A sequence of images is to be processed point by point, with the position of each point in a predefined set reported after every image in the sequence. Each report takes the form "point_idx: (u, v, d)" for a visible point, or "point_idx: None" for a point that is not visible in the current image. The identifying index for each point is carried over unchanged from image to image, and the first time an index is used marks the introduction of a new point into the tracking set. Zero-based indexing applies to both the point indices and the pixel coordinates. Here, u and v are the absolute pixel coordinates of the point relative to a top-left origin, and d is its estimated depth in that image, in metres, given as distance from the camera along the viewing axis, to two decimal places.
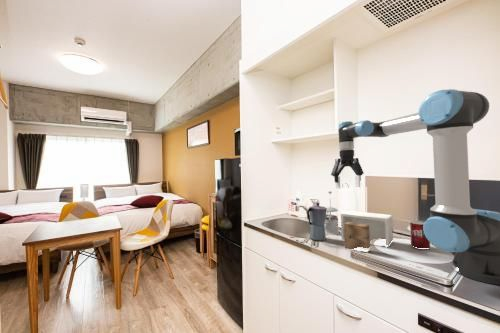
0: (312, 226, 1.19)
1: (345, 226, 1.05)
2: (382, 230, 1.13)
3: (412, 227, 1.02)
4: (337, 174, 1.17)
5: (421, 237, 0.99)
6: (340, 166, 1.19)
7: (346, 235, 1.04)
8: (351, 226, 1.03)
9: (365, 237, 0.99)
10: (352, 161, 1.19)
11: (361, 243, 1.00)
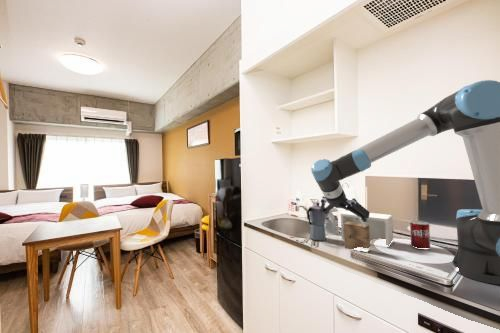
0: (312, 226, 1.19)
1: (345, 226, 1.05)
2: (382, 230, 1.13)
3: (412, 227, 1.02)
4: None
5: (421, 237, 0.99)
6: (351, 207, 0.87)
7: (346, 235, 1.04)
8: (351, 226, 1.03)
9: (365, 237, 0.99)
10: None
11: (361, 243, 1.00)
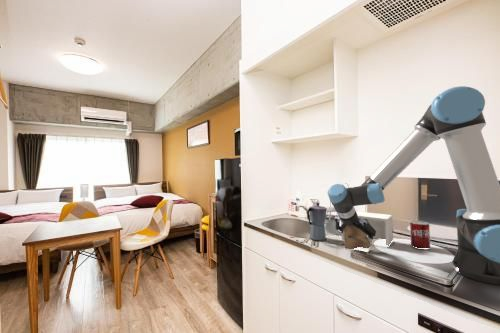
0: (312, 226, 1.19)
1: None
2: (382, 230, 1.13)
3: (412, 227, 1.02)
4: None
5: (421, 237, 0.99)
6: (361, 226, 0.96)
7: (346, 235, 1.04)
8: (351, 226, 1.03)
9: (365, 237, 0.99)
10: None
11: (361, 243, 1.00)
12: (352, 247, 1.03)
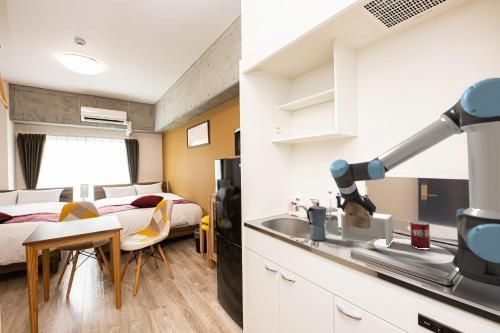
0: (312, 226, 1.19)
1: (346, 204, 1.08)
2: (382, 230, 1.13)
3: (412, 227, 1.02)
4: None
5: (421, 237, 0.99)
6: (361, 202, 0.99)
7: (347, 212, 1.08)
8: (352, 204, 1.06)
9: (365, 213, 1.02)
10: None
11: (362, 220, 1.03)
12: (353, 224, 1.06)
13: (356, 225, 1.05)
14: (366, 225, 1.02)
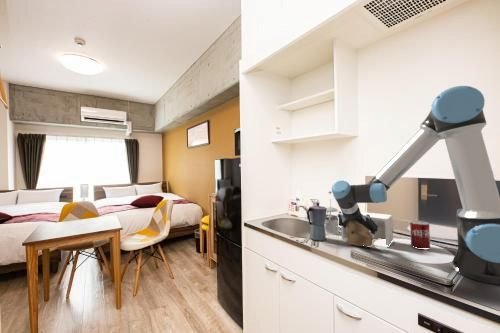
0: (312, 226, 1.19)
1: (348, 222, 1.08)
2: (382, 230, 1.13)
3: (412, 227, 1.02)
4: None
5: (421, 237, 0.99)
6: (363, 221, 0.99)
7: (349, 230, 1.07)
8: (354, 222, 1.06)
9: (367, 232, 1.02)
10: None
11: (363, 239, 1.03)
12: (355, 242, 1.06)
13: (358, 243, 1.05)
14: (368, 244, 1.02)
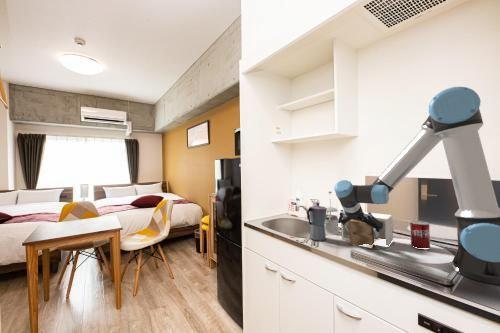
0: (312, 226, 1.19)
1: (350, 223, 1.10)
2: (382, 230, 1.13)
3: (412, 227, 1.02)
4: None
5: (421, 237, 0.99)
6: (366, 220, 1.01)
7: (351, 231, 1.09)
8: (356, 223, 1.08)
9: (369, 233, 1.04)
10: None
11: (365, 240, 1.05)
12: (357, 243, 1.08)
13: (360, 244, 1.07)
14: None
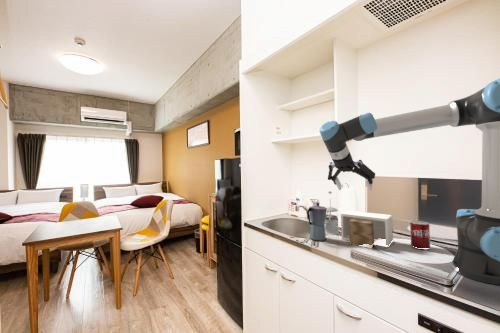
0: (312, 226, 1.19)
1: (350, 223, 1.10)
2: (382, 230, 1.13)
3: (412, 227, 1.02)
4: None
5: (421, 237, 0.99)
6: (357, 169, 0.92)
7: (351, 231, 1.09)
8: (356, 223, 1.08)
9: (369, 233, 1.04)
10: None
11: (365, 240, 1.05)
12: (357, 243, 1.08)
13: (360, 244, 1.07)
14: None
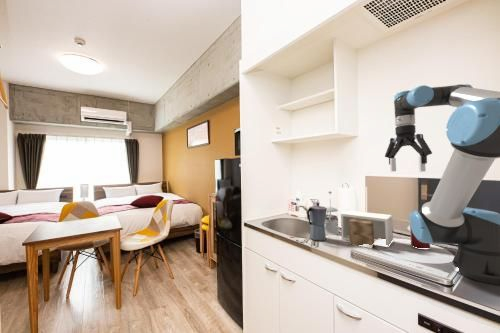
0: (312, 226, 1.19)
1: (350, 223, 1.10)
2: (382, 230, 1.13)
3: None
4: None
5: None
6: (415, 144, 0.95)
7: (351, 231, 1.09)
8: (356, 223, 1.08)
9: (369, 233, 1.04)
10: None
11: (365, 240, 1.05)
12: (357, 243, 1.08)
13: (360, 244, 1.07)
14: None
